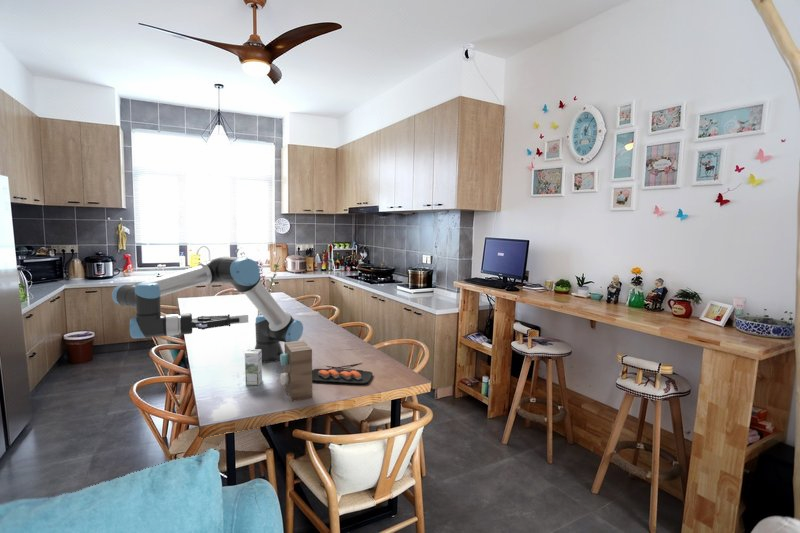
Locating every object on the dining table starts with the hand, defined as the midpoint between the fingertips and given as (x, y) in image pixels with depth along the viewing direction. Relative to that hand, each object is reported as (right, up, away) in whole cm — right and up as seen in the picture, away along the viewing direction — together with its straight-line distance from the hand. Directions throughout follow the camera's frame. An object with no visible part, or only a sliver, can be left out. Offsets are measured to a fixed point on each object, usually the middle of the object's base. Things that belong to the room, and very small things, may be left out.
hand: (248, 318), depth 163 cm
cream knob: (+17, -27, +7) cm, 32 cm away
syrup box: (-4, -31, +18) cm, 36 cm away
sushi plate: (+33, -30, +33) cm, 56 cm away
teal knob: (+17, -19, +6) cm, 26 cm away
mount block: (+18, -32, +8) cm, 37 cm away
